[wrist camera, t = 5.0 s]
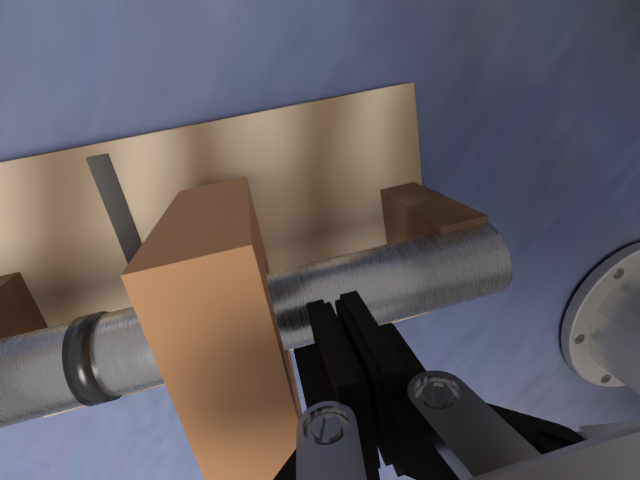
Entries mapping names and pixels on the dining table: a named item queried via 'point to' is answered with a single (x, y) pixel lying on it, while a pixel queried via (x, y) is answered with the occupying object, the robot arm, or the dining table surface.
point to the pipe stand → (208, 168)
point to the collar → (217, 331)
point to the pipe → (289, 306)
